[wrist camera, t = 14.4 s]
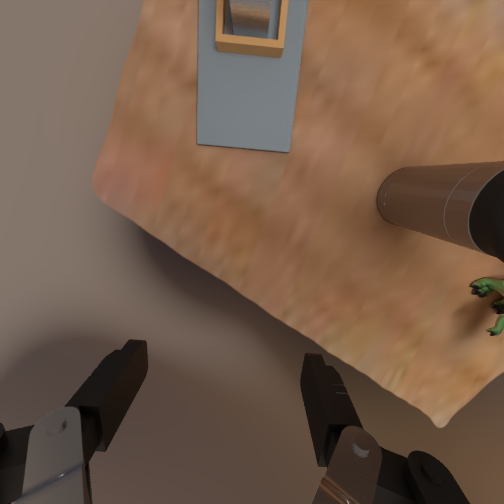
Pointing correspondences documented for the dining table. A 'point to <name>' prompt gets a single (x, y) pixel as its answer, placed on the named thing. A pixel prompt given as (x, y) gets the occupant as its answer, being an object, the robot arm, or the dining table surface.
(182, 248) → the dining table surface
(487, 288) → the toy
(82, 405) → the robot arm
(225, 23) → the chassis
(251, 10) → the brushed metal pillar
